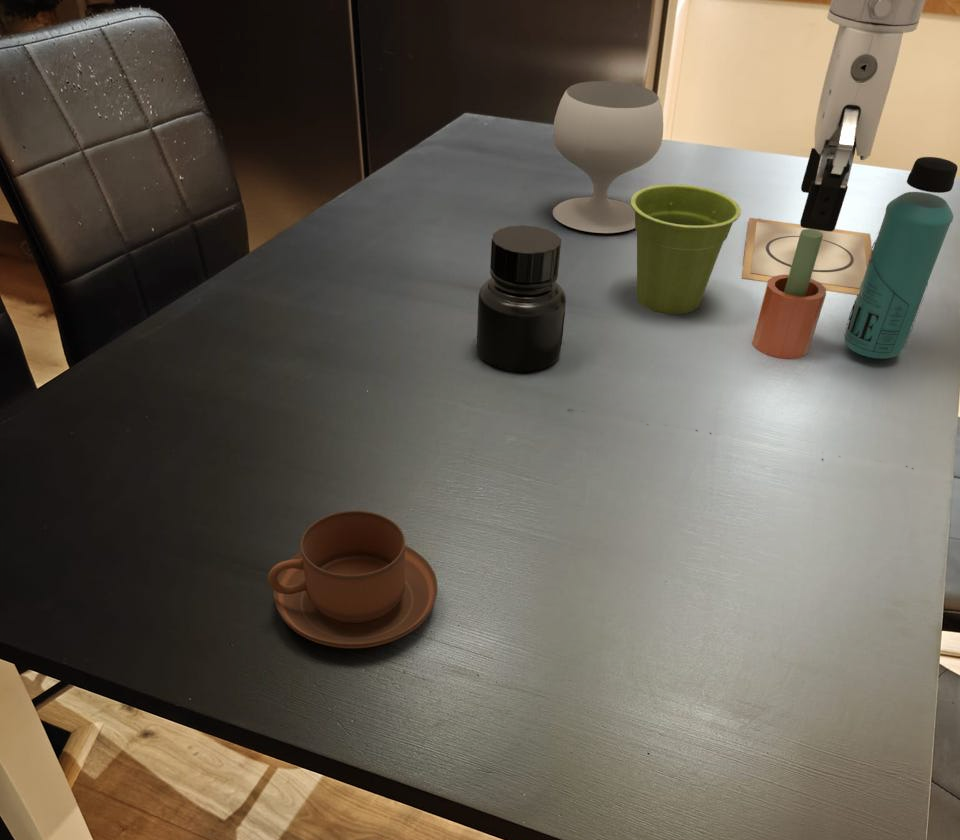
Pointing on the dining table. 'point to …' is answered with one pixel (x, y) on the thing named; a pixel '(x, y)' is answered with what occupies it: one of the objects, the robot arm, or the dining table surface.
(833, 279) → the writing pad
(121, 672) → the dining table surface
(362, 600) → the cup and saucer
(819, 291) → the pen cup
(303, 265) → the dining table surface
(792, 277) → the marker
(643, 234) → the plant pot
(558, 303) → the ink bottle
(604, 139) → the chalice
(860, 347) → the beverage bottle
